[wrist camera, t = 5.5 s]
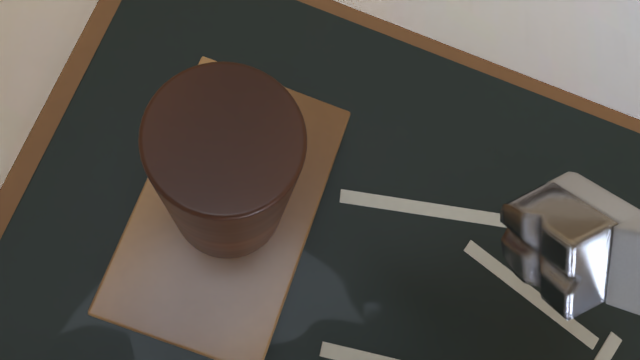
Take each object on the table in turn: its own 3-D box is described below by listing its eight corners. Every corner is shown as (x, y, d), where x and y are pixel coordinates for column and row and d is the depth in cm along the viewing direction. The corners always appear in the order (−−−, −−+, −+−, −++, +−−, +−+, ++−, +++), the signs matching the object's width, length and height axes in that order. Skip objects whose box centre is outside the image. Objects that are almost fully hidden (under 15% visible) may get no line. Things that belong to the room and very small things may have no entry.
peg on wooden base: (101, 315, 17) (-14, 308, 9) (204, 79, 19) (183, -89, 11) (256, 369, 17) (273, 409, 9) (341, 130, 19) (411, 1, 11)
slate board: (-116, 431, 16) (-148, 441, 15) (140, -66, 21) (133, -92, 20) (703, 706, 18) (743, 738, 16) (768, 178, 23) (802, 169, 21)
